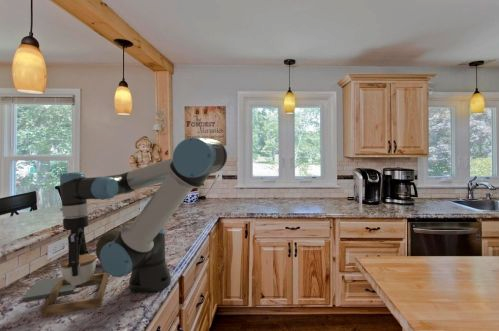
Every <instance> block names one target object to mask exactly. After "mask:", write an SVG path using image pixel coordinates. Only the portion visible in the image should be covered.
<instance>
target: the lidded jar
mask: <svg viewBox="0 0 499 331" xmlns="http://www.w3.org/2000/svg"><path fill="white" fill-rule="evenodd" d="M96 259H97V255H95V254H91V253H90V254H89V253H87V254H86V255H80V254H79V264H80V271H81V284H82V283H85V282H87V281H89V280H90V278H91V277H92V275H93V274H95V271H96V266H97V265H96V264H97V262H96ZM67 265H68V258H65V259H63V260H62V261H61V262H60V269H61V275H62V277H64V279H65V280H66V281H67V282H69V283H70V284H71V285H72V283H71V270H70V267H67Z"/></svg>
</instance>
